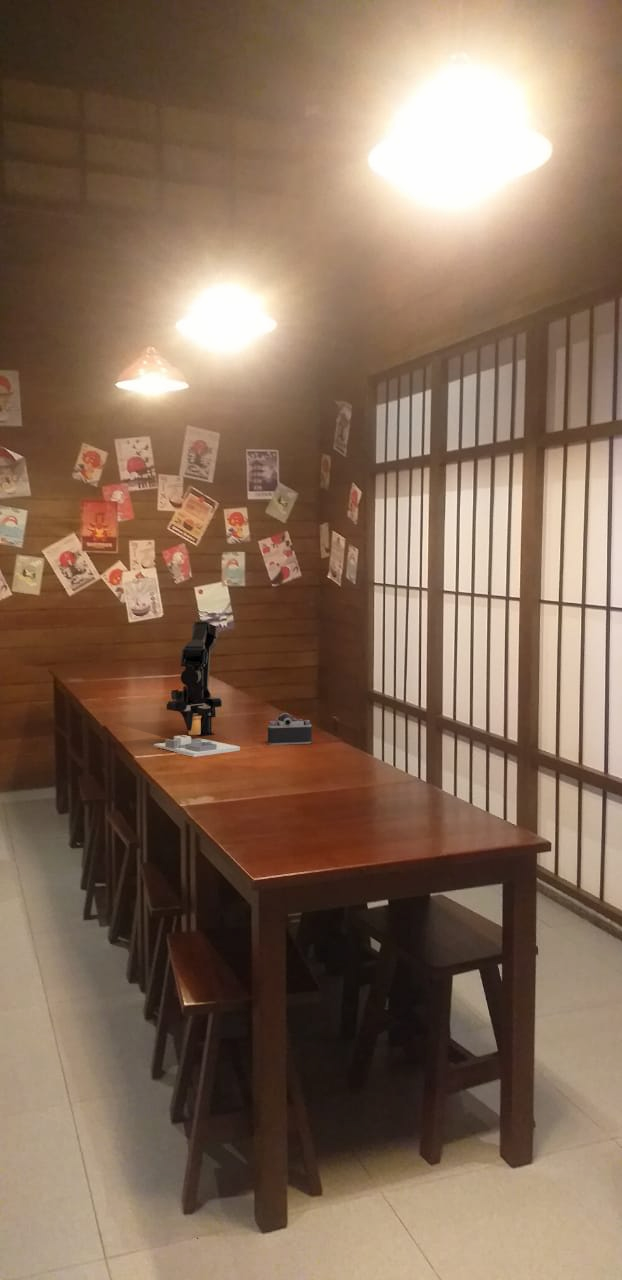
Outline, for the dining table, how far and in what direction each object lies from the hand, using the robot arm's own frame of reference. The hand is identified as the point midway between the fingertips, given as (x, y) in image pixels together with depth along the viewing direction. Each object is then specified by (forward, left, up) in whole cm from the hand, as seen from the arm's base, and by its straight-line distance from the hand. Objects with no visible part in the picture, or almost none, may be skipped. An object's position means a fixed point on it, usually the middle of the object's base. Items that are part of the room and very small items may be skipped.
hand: (194, 729), depth 325 cm
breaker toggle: (+9, +6, -4) cm, 11 cm away
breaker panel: (+5, +8, -5) cm, 10 cm away
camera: (-26, +17, -5) cm, 32 cm away
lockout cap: (0, 0, -1) cm, 1 cm away
